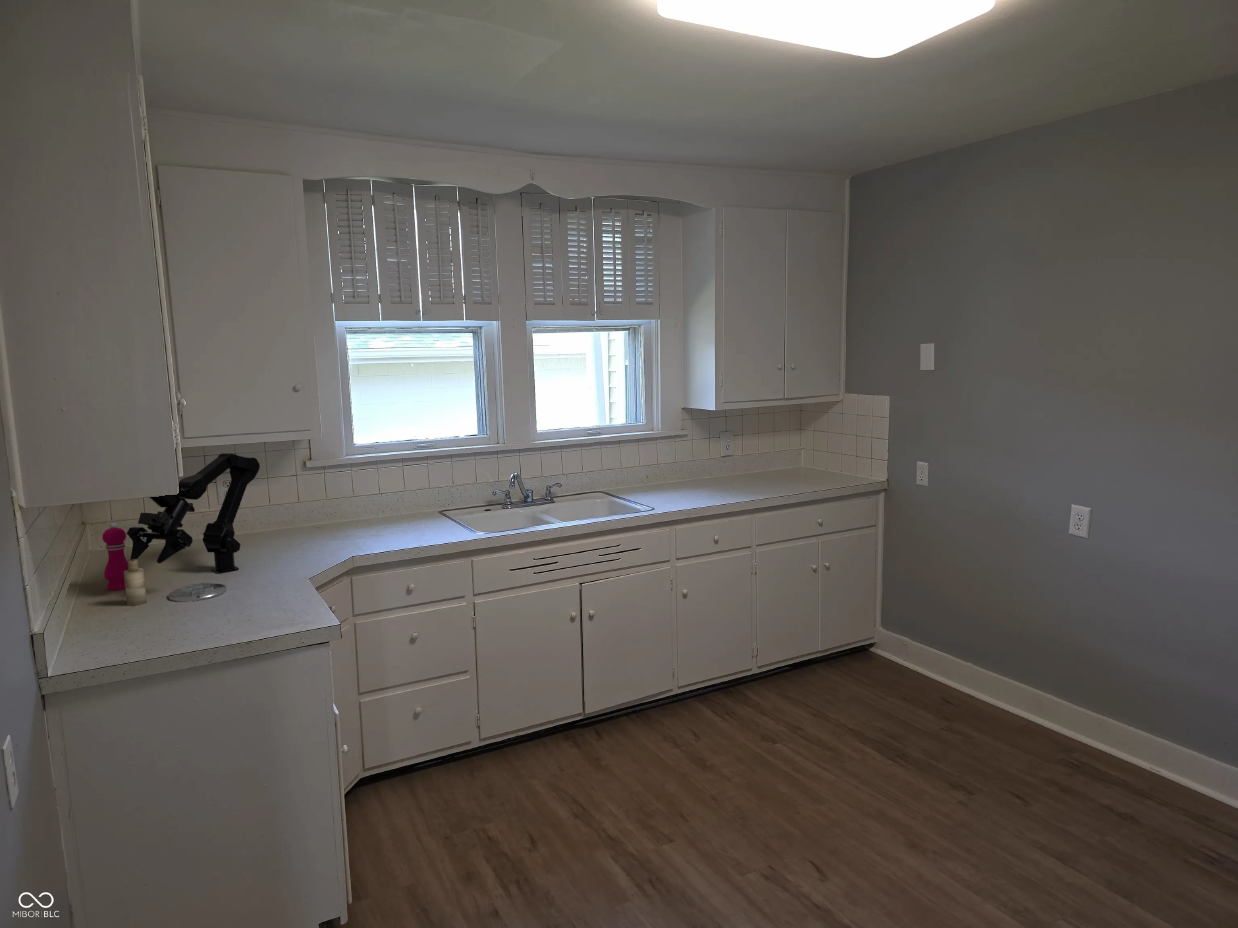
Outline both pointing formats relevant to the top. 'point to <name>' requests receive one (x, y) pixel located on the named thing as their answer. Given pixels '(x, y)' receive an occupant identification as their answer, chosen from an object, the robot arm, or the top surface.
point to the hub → (197, 592)
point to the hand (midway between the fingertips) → (144, 561)
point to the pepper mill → (115, 557)
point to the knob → (135, 584)
